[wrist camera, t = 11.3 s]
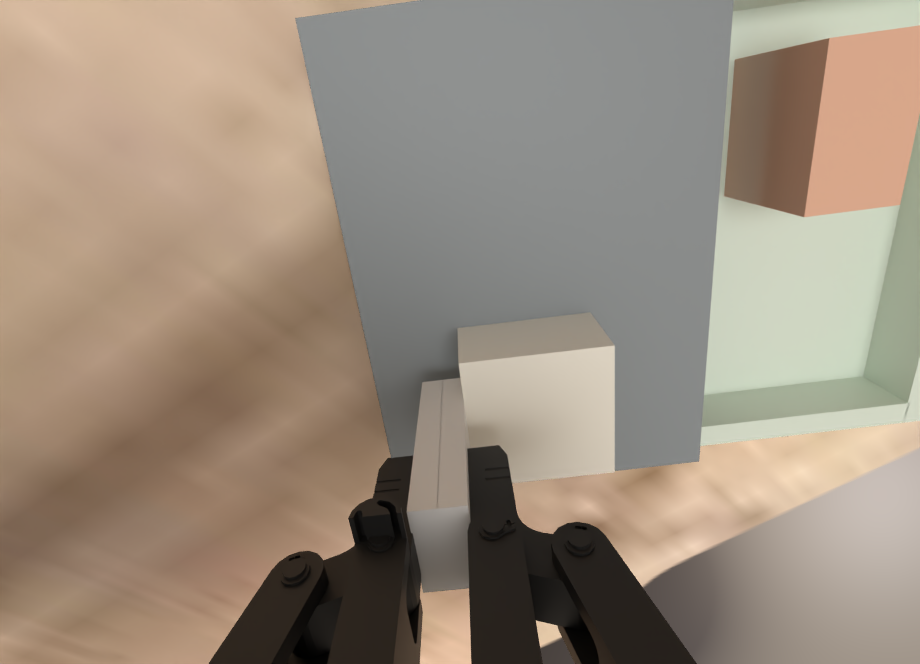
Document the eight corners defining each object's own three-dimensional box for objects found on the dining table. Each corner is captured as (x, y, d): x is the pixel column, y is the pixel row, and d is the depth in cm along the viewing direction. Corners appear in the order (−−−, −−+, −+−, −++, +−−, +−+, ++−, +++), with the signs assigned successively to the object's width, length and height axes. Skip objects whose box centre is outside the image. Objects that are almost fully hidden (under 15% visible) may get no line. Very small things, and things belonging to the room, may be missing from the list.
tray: (672, 410, 25) (699, 445, 22) (692, -13, 18) (736, -38, 15) (872, 386, 25) (925, 420, 22) (971, -53, 18) (1067, -86, 15)
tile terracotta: (804, 217, 16) (900, 204, 16) (829, 38, 14) (939, 22, 14) (724, 196, 20) (797, 186, 20) (734, 59, 18) (816, 48, 18)
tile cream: (472, 438, 21) (475, 487, 18) (457, 328, 19) (458, 363, 16) (592, 425, 20) (614, 472, 18) (590, 312, 19) (614, 345, 16)
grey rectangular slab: (406, 441, 25) (399, 495, 22) (326, 39, 18) (295, 18, 15) (662, 411, 25) (698, 461, 21) (678, -11, 18) (737, -46, 14)
